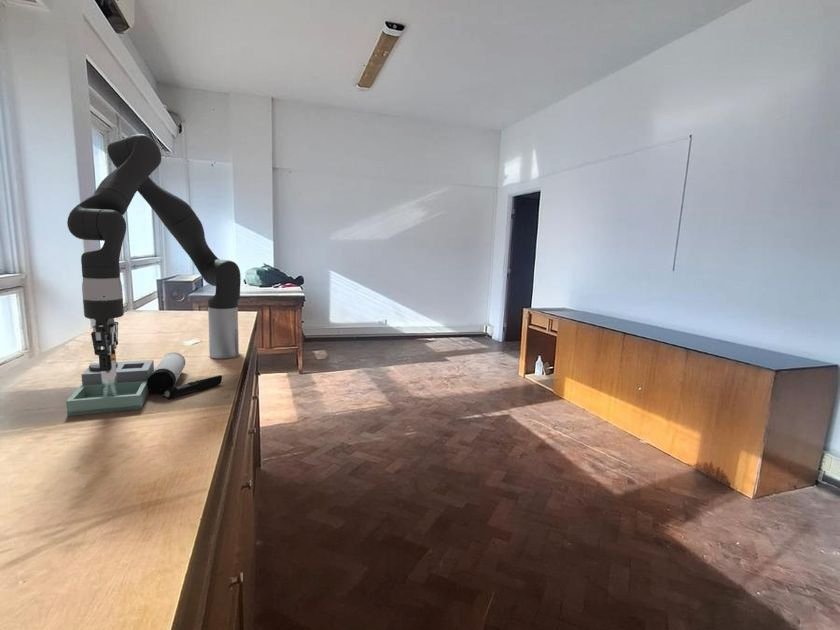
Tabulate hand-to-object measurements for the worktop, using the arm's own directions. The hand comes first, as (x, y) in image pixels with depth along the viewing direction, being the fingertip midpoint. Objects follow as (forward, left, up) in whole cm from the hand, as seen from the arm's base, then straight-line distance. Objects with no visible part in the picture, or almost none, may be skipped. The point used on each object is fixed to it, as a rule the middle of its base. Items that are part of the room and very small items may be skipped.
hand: (108, 367), depth 103 cm
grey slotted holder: (0, -11, -9) cm, 15 cm away
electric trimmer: (-17, -5, -10) cm, 21 cm away
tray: (0, 0, -9) cm, 9 cm away
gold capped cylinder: (0, 0, -8) cm, 8 cm away
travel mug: (-11, -23, -6) cm, 27 cm away
